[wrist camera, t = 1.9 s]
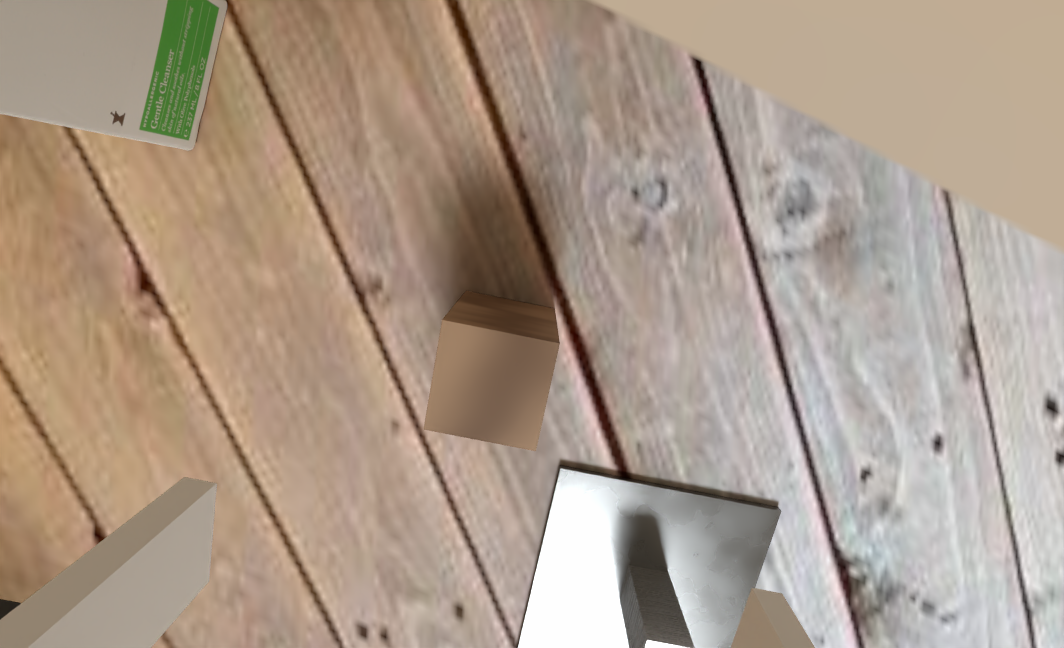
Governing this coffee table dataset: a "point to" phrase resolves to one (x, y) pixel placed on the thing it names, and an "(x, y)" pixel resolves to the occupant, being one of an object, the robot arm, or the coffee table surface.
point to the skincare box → (111, 65)
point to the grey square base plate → (643, 565)
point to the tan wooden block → (493, 370)
